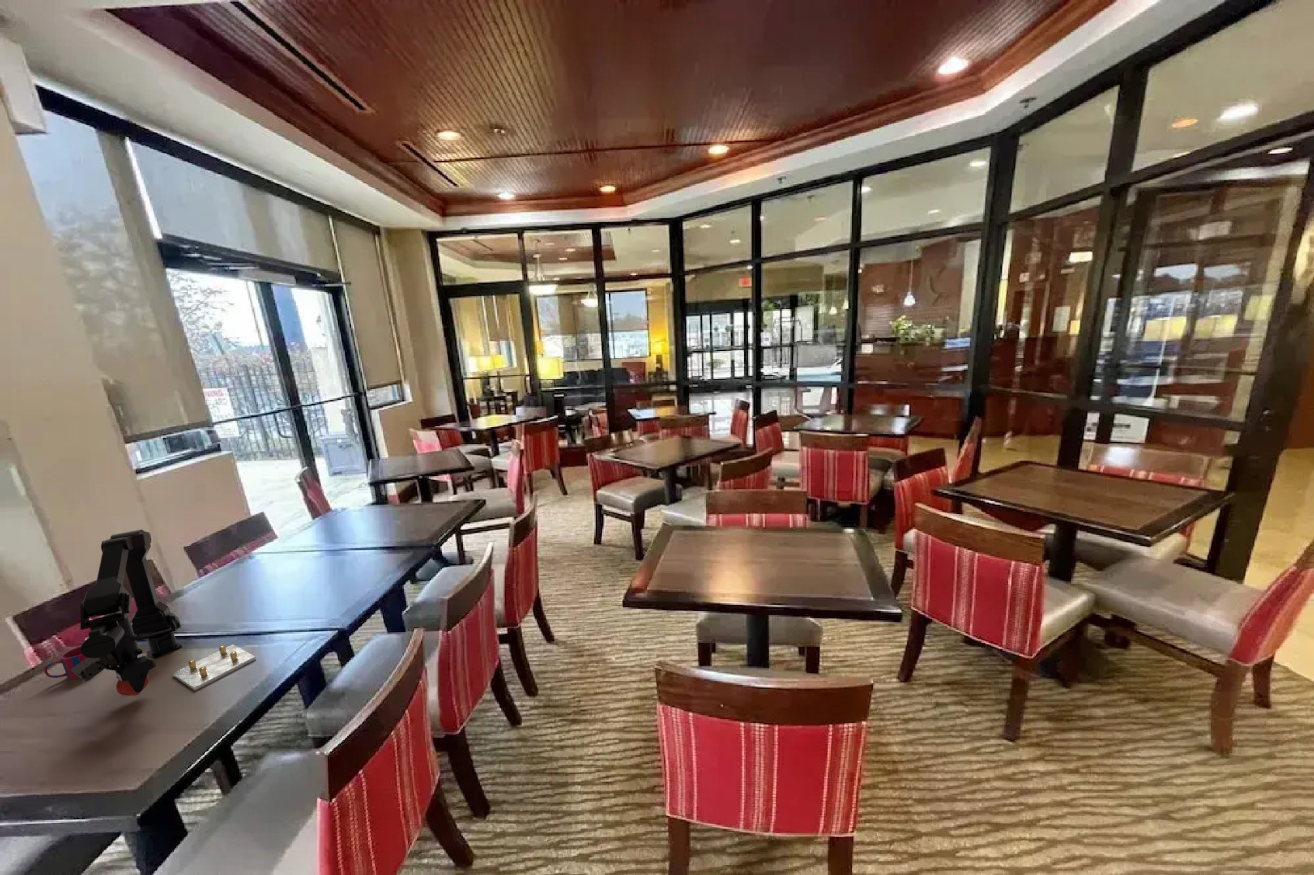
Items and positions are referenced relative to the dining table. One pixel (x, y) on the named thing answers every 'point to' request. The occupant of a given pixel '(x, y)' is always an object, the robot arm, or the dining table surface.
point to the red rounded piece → (128, 688)
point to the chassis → (213, 666)
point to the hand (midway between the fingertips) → (134, 688)
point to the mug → (68, 663)
